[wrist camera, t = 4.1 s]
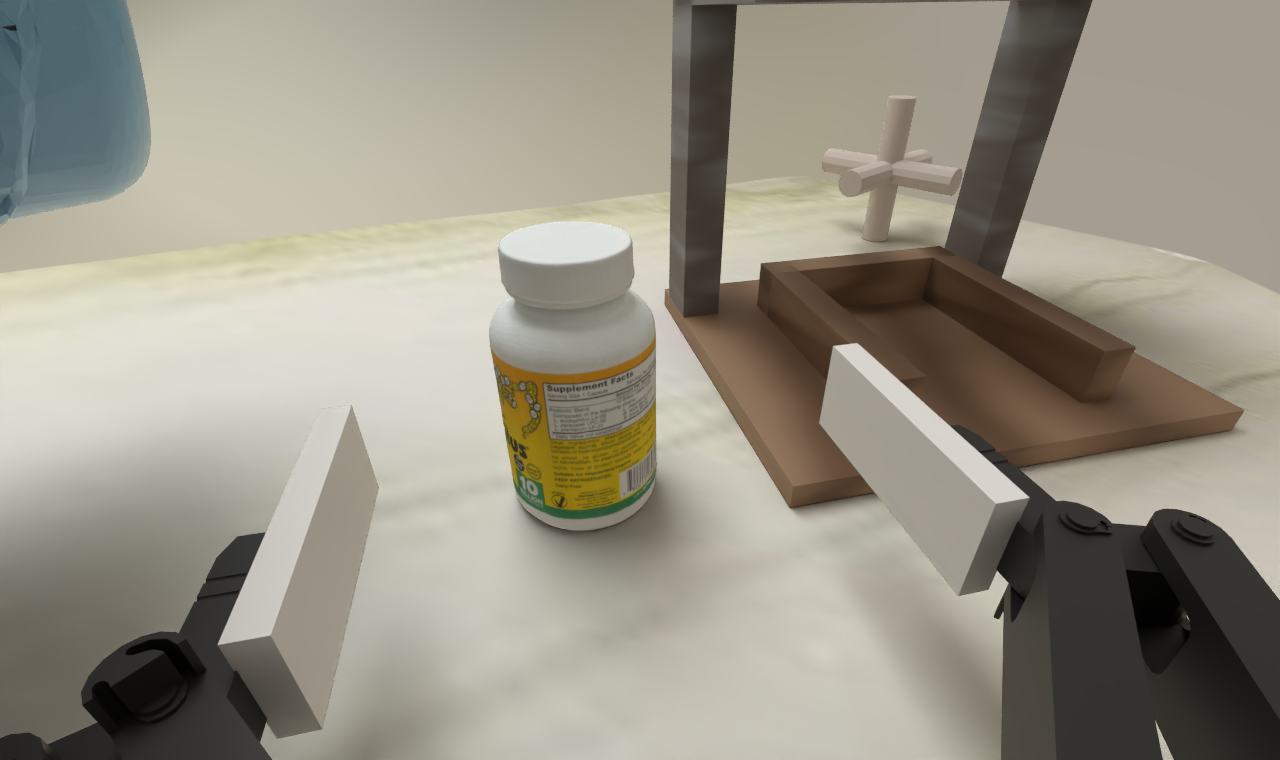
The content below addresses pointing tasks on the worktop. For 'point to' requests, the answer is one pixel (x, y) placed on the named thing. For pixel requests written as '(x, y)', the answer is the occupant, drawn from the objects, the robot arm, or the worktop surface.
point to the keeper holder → (908, 287)
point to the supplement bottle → (575, 374)
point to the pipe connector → (889, 169)
